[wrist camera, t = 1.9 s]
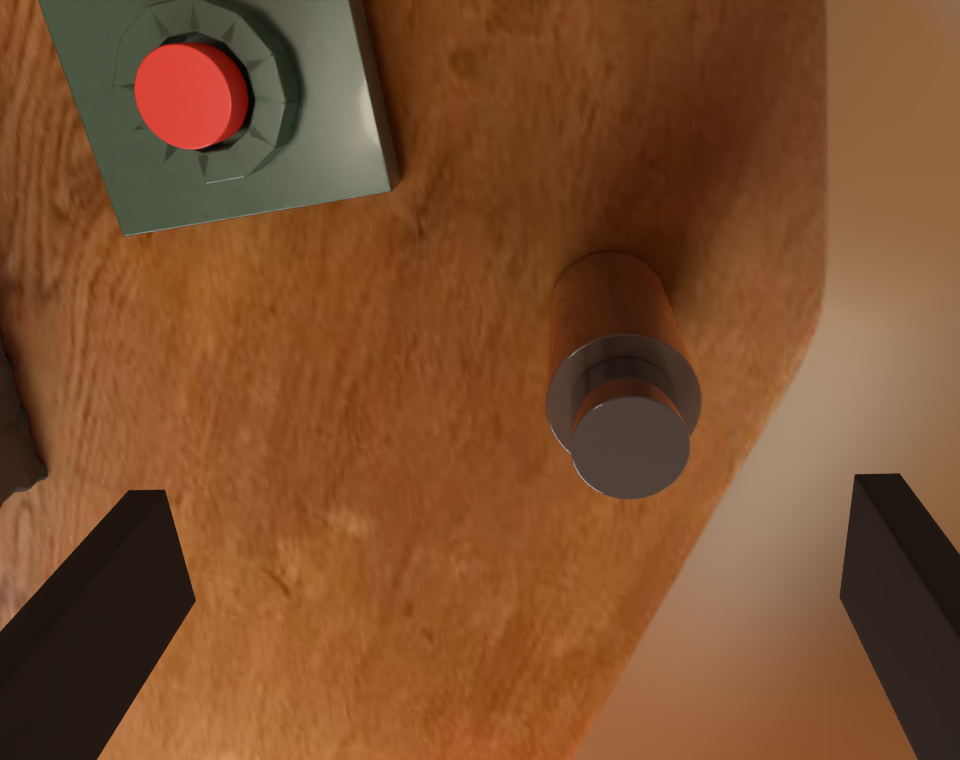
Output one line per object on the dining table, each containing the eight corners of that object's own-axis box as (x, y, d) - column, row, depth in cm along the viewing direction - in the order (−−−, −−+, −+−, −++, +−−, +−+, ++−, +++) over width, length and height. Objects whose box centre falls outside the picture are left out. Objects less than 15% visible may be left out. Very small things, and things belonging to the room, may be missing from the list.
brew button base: (345, -80, 31) (316, -93, 27) (402, 181, 35) (383, 201, 31) (62, -17, 33) (1, -20, 29) (146, 225, 37) (101, 248, 33)
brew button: (232, 33, 29) (214, 34, 28) (260, 134, 31) (244, 140, 29) (142, 52, 30) (119, 53, 28) (174, 150, 31) (153, 157, 30)
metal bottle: (660, 242, 35) (712, 360, 23) (671, 353, 37) (723, 512, 25) (541, 261, 36) (531, 383, 24) (557, 368, 38) (556, 528, 26)
